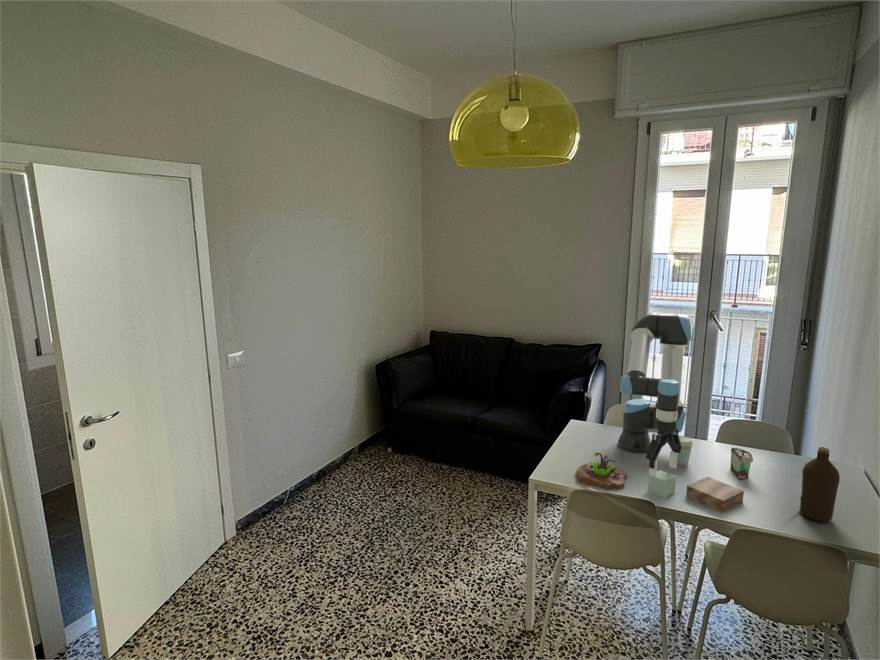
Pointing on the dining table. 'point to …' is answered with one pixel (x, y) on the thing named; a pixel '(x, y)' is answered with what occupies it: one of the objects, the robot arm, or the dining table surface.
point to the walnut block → (715, 494)
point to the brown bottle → (819, 487)
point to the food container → (740, 463)
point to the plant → (602, 474)
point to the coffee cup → (684, 451)
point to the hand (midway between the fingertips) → (662, 471)
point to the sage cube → (662, 484)
